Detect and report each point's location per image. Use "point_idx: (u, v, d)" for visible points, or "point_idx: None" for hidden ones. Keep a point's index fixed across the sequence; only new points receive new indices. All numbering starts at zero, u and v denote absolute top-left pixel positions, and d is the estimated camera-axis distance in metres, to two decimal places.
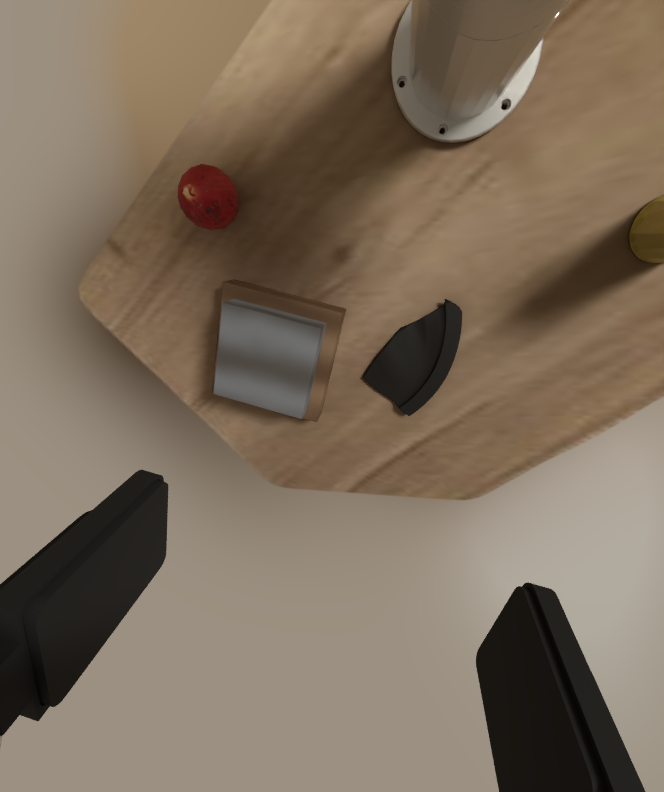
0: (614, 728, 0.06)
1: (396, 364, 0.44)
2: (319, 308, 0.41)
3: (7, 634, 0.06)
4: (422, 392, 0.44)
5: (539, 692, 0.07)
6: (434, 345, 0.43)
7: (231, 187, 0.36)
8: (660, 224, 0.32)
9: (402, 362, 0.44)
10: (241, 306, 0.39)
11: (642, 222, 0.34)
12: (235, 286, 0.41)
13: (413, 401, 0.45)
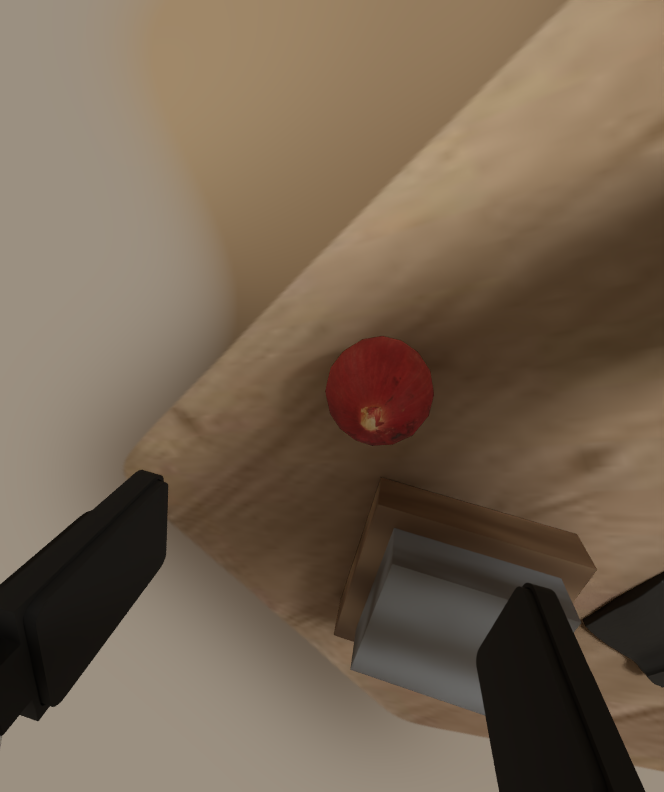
0: (614, 728, 0.06)
1: (654, 619, 0.26)
2: (553, 558, 0.23)
3: (7, 634, 0.06)
4: None
5: (539, 692, 0.07)
6: None
7: (431, 380, 0.19)
8: None
9: None
10: (424, 568, 0.22)
11: None
12: (400, 512, 0.24)
13: None
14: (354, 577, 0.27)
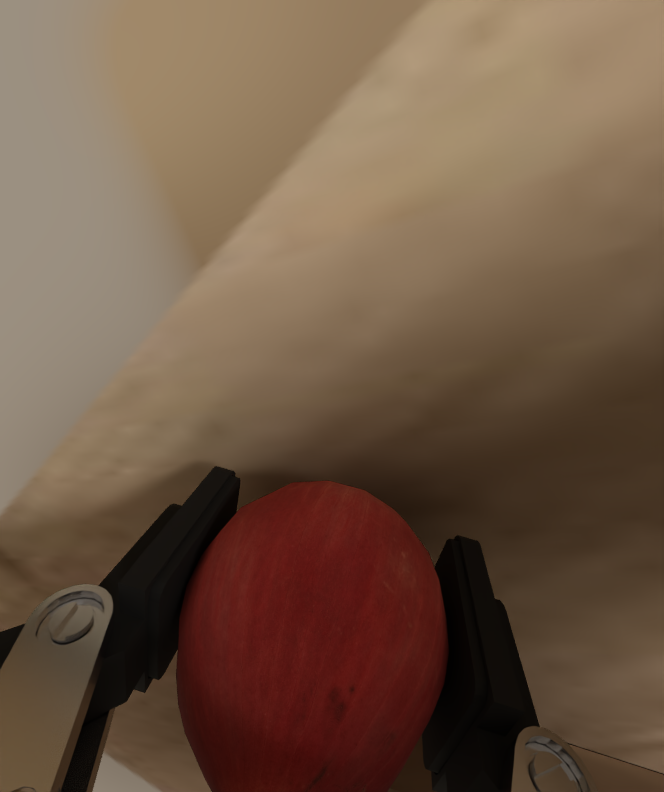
0: (504, 643, 0.07)
1: None
2: None
3: (133, 611, 0.07)
4: None
5: (452, 622, 0.08)
6: None
7: (443, 618, 0.07)
8: None
9: None
10: None
11: None
12: None
13: None
14: None
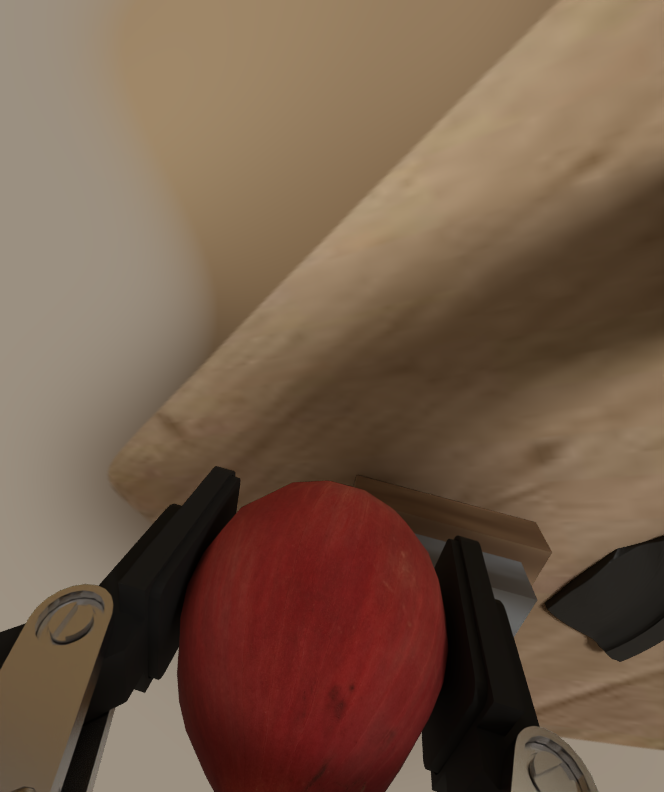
0: (504, 643, 0.07)
1: (606, 598, 0.29)
2: (513, 543, 0.25)
3: (133, 611, 0.07)
4: (647, 635, 0.29)
5: (452, 622, 0.08)
6: None
7: (442, 617, 0.07)
8: None
9: (616, 595, 0.29)
10: None
11: None
12: None
13: (630, 645, 0.30)
14: None
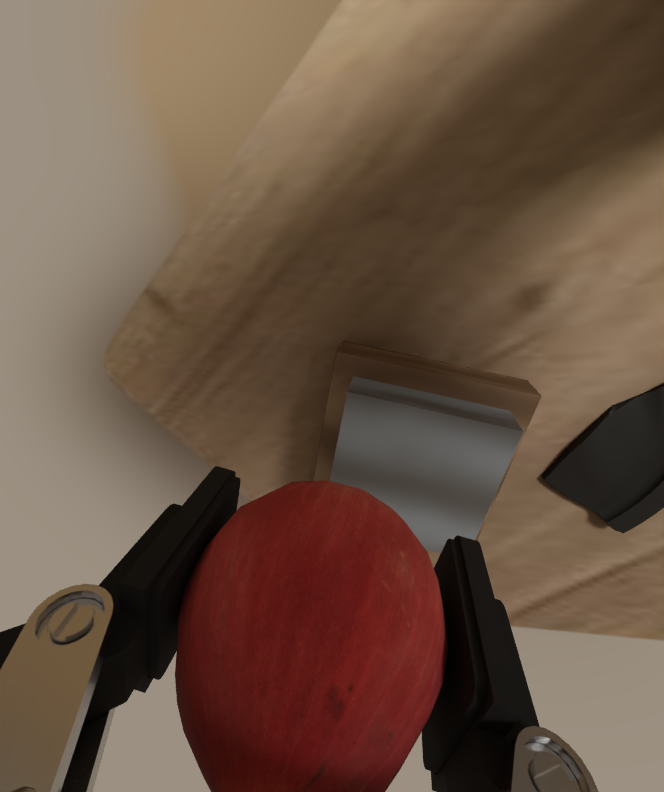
0: (504, 643, 0.07)
1: (604, 460, 0.28)
2: (500, 389, 0.25)
3: (133, 611, 0.07)
4: (651, 499, 0.28)
5: (452, 622, 0.08)
6: None
7: (441, 618, 0.07)
8: None
9: (615, 456, 0.28)
10: (378, 396, 0.24)
11: None
12: (357, 358, 0.25)
13: (632, 513, 0.28)
14: (321, 437, 0.28)
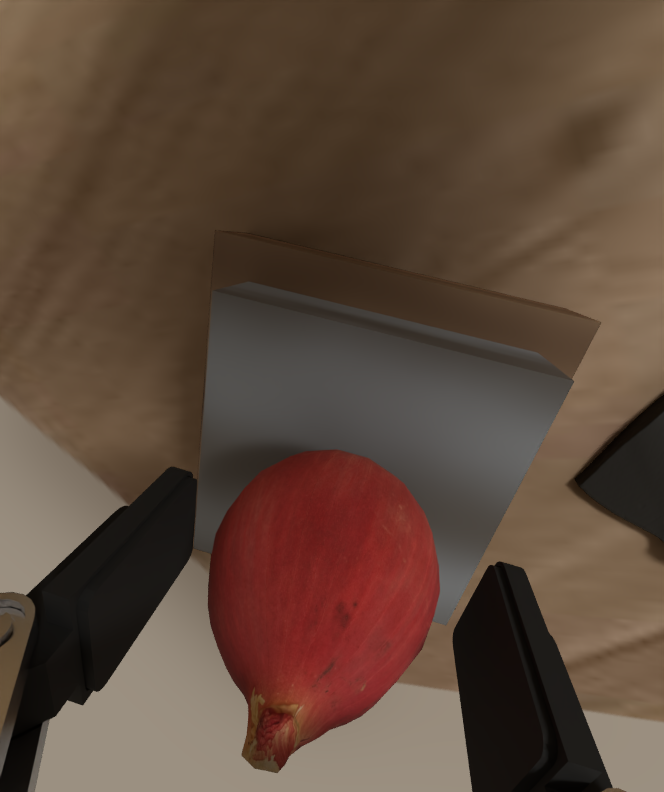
0: (568, 689, 0.06)
1: None
2: (522, 307, 0.13)
3: (60, 620, 0.06)
4: None
5: (503, 660, 0.07)
6: None
7: (434, 562, 0.09)
8: None
9: None
10: (278, 303, 0.11)
11: None
12: (253, 243, 0.13)
13: None
14: (204, 400, 0.16)
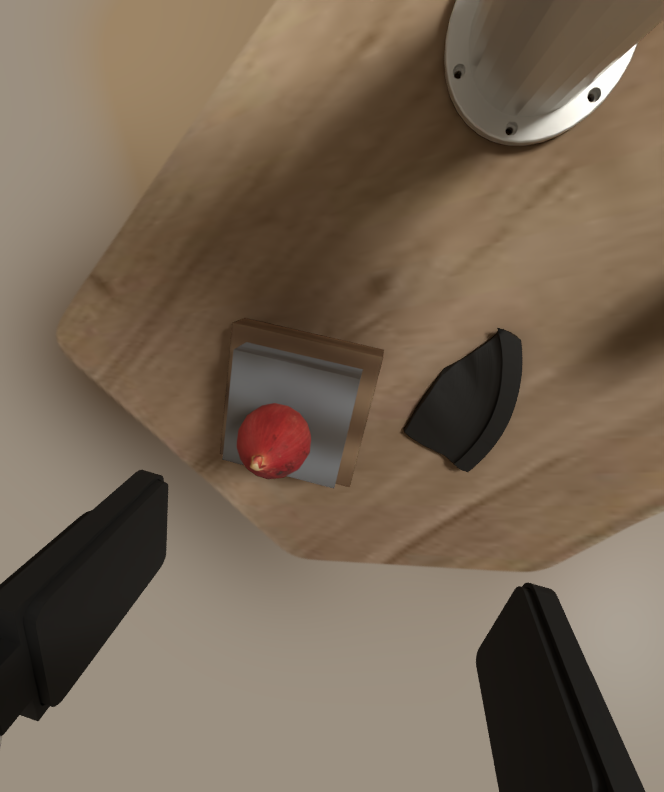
0: (614, 728, 0.06)
1: (444, 412, 0.36)
2: (353, 352, 0.33)
3: (7, 634, 0.06)
4: (481, 442, 0.36)
5: (539, 692, 0.07)
6: (489, 384, 0.34)
7: (306, 433, 0.28)
8: None
9: (451, 409, 0.36)
10: (257, 353, 0.31)
11: None
12: (248, 327, 0.33)
13: (471, 454, 0.36)
14: (226, 393, 0.36)
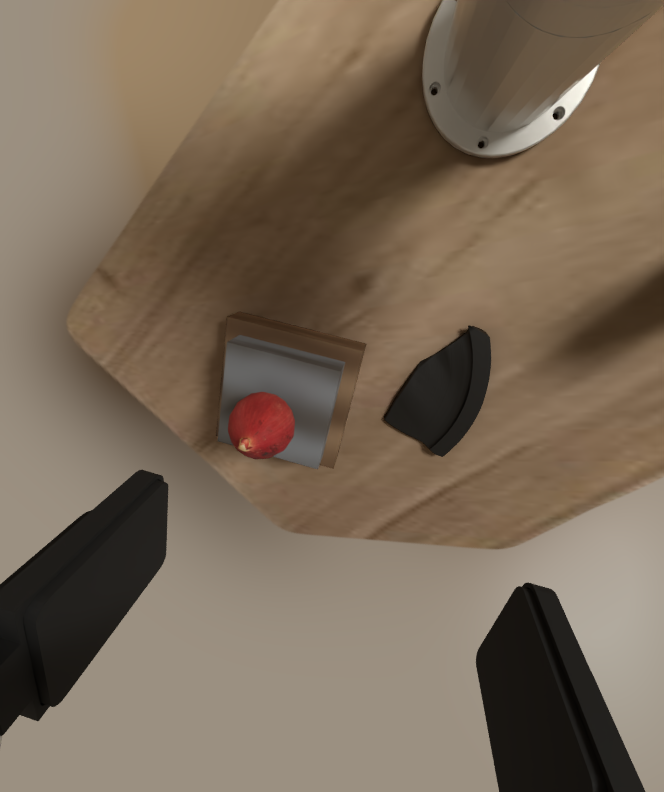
0: (614, 728, 0.06)
1: (420, 402, 0.39)
2: (337, 346, 0.36)
3: (7, 634, 0.06)
4: (454, 429, 0.39)
5: (539, 692, 0.07)
6: (461, 377, 0.37)
7: (289, 419, 0.31)
8: None
9: (427, 399, 0.39)
10: (248, 346, 0.34)
11: None
12: (241, 321, 0.36)
13: (445, 440, 0.40)
14: (221, 381, 0.39)
